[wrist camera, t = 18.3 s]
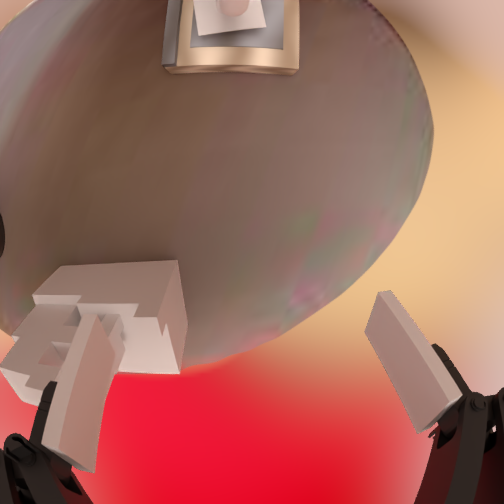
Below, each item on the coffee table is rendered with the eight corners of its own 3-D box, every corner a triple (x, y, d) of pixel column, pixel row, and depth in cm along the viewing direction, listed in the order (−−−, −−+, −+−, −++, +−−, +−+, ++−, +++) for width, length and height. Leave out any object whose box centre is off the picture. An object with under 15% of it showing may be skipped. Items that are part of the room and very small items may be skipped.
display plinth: (170, 74, 30) (161, 64, 25) (179, -7, 25) (172, -25, 20) (291, 75, 32) (301, 66, 27) (292, -5, 26) (301, -22, 21)
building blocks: (177, 259, 41) (132, 395, 18) (188, 323, 45) (168, 458, 22) (61, 265, 39) (-25, 361, 17) (80, 322, 44) (23, 425, 21)
